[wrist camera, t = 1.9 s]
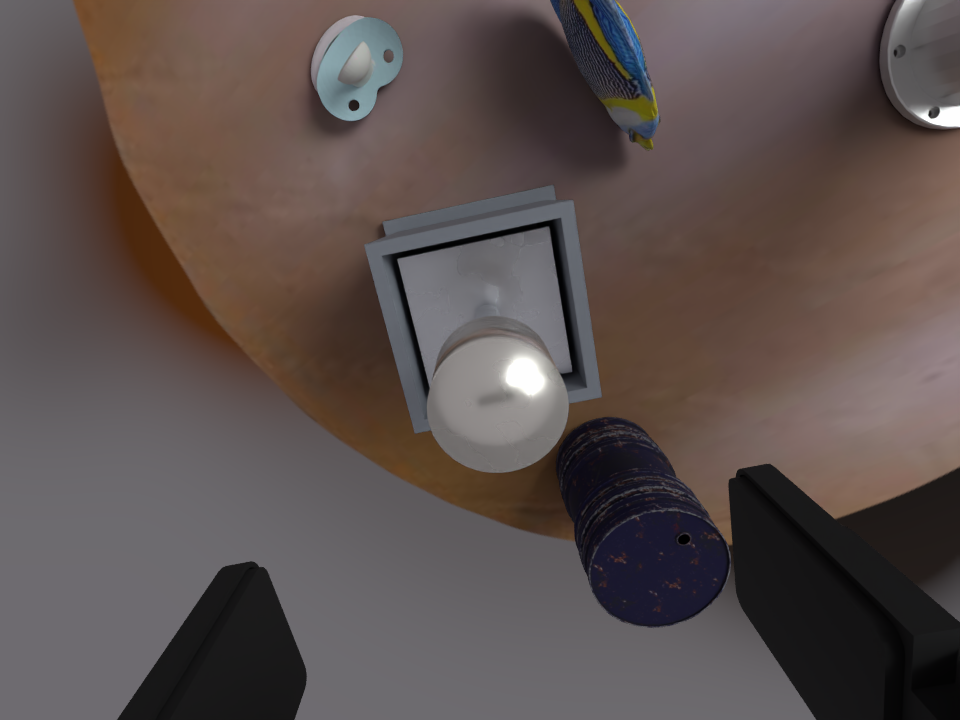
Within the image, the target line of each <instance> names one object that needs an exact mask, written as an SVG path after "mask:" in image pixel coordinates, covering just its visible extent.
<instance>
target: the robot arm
mask: <svg viewBox="0 0 960 720" xmlns="http://www.w3.org/2000/svg"><path fill="white" fill-rule="evenodd" d="M879 63H880V72H881V79H882V82H883V85H884V88H885V92H886V94H887V96H888V97H889V99H890V101H891V103H892V104H893V106H894V107H895V108H896V109H897V110H898V111H899V112H900V113H901V114H902V115H903V116H904V117H905V118H907V119H908V120H910V121H912V122H913V123H915V124H917V125H920V126H923V127H926V128H931V129H942V130H945V129H954V128H960V0H896V2H895V3H894V5H893V7H892V9H891V11H890V14H889V16H888V19H887V21H886V24H885V27H884V31H883V36H882V40H881V45H880V60H879ZM729 500H730V514H731V528H732V542H733V556H734V570H735V585H736V593H737V597H738V600H739V603H740V605H741V607H742V609H743V611H744V612H745V614H746V615H747V617H748V618H749V620H750V621H751V623H752V624H753V625H754V627H755V629H756V630H757V632H758V633H759V635H760V636H761V638H762V639H763V641H764V642H765V644H766V645H767V647H768V648H769V650H770V651H771V653H772V654H773V655H774V657H775V658H776V660H777V661H778V663H779V664H780V666H781V667H782V669H783V670H784V672H785V673H786V675H787V676H788V678H789V679H790V681H791V682H792V684H793V685H794V686H795V688H796V690H797V691H798V693H799V694H800V696H801V697H802V699H803V700H804V702H805V703H806V705H807V706H808V708H809V709H810V711H811V712H812V714H813V715H814V717H815V718H816V720H960V622H959V621H958V620H956V619H955V618H954V617H953V616H952V615H951V614H949V613H948V612H947V611H946V610H945V609H944V608H942V607H941V606H940V605H939V604H938V603H937V602H935V601H934V600H933V599H932V598H931V597H929V596H928V595H927V594H926V593H925V592H924V591H923V590H921V589H920V588H919V587H918V586H917V585H915V584H914V583H913V582H912V581H911V580H909V579H908V578H907V577H906V576H905V575H904V574H903V573H901V572H900V571H899V570H898V569H897V568H896V567H895V566H893V565H892V564H891V563H890V562H889V561H888V560H886V559H885V558H884V557H883V556H882V555H881V554H879V553H878V552H877V551H876V550H875V549H873V548H872V547H871V546H870V545H869V544H868V543H867V542H865V541H864V540H863V539H862V538H861V537H860V536H858V535H857V534H856V533H855V532H854V531H852V530H851V529H849V528H848V527H846V526H842V525H841V524H840V523H839V522H837V521H836V520H835V519H834V518H833V517H832V516H830V515H829V514H828V513H827V512H826V511H825V510H824V509H822V508H821V507H820V506H819V505H818V504H817V503H815V502H814V501H813V500H812V499H811V498H810V497H809V496H807V495H806V494H805V493H804V492H803V491H802V490H800V489H799V488H798V487H797V486H796V485H795V484H794V483H792V482H791V481H790V480H789V479H788V478H787V477H785V476H784V475H783V474H782V473H781V472H780V471H779V470H777V469H776V468H775V467H774V466H772V465H771V464H764V465H758V466H753V467H748V468H742V469H739V470H738V471H737V473H736V478H731V479H730V480H729ZM306 677H307V676H306V668H305V665H304V662H303V660H302V657H301V655H300V652H299V650H298V647H297V645H296V642H295V640H294V637H293V635H292V632H291V630H290V627H289V625H288V622H287V620H286V617H285V614H284V612H283V609H282V607H281V604H280V602H279V600H278V597H277V594H276V592H275V589H274V587H273V585H272V582H271V579H270V577H269V574H268V572H267V570H266V569H265V568H264V567H259V566H258V565H257V564H256V563H255V562H246V563H240V564H235V565H229V566H225V567H223V568H222V569H221V570H220V571H219V572H218V573H217V575H216V576H215V578H214V579H213V581H212V582H211V584H210V585H209V586H208V588H207V590H206V591H205V592H204V594H203V595H202V597H201V598H200V600H199V601H198V603H197V604H196V606H195V607H194V608H193V610H192V611H191V613H190V614H189V616H188V617H187V619H186V620H185V621H184V623H183V625H182V626H181V627H180V629H179V630H178V632H177V633H176V635H175V636H174V638H173V639H172V641H171V642H170V643H169V645H168V646H167V648H166V649H165V651H164V652H163V654H162V655H161V657H160V658H159V659H158V661H157V663H156V664H155V665H154V667H153V668H152V670H151V671H150V673H149V674H148V675H147V677H146V678H145V680H144V681H143V683H142V684H141V686H140V687H139V689H138V690H137V692H136V693H135V694H134V696H133V698H132V699H131V700H130V702H129V703H128V705H127V706H126V708H125V709H124V710H123V712H122V713H121V715H120V716H119V718H118V719H117V720H294V719H295V716H296V713H297V710H298V708H299V705H300V702H301V698H302V696H303V693H304V690H305V686H306Z"/></svg>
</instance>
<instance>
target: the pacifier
mask: <svg viewBox="0 0 960 720" xmlns="http://www.w3.org/2000/svg"><path fill="white" fill-rule="evenodd" d="M387 50H391V51H392V52H393V53H394V59H393V61H392V62H390V63H387V62H385V61H384V57H383V56H384V53H385V51H387ZM402 61H403V50H402V45H401V42H400V39H399V37H398V35H397V33H396V32H395V30H394V29H393V28H392V27H391V26H390V25H389V24H388V23H386V22H384V21H383V20H380V19H377V18H365V17H363V16H357V15H354V16H348V17H345V18H343V19H341V20H339V21H337V22H336V23H335V24H333V25H332V26H331V27H330V28H329V29H328V30H327V31H326V32H325V34H324V35H323V36H322V37H321V39H320V41H319V43H318V45H317V47H316V49H315V52H314V55H313V58H312V64H311V78H312V82H313V85H314V88H315V90H316V91H317V92H318V94H319V96H320V99H321V101H322V103H323V105H324V106H325V108H326V109H327V110H328V111H329V112H330V113H331V114H332V115H334V116H336V117H337V118H339V119H342V120H345V121H357V120H360V119H362V118H364V117H366V116H367V115H368V114H369V113H370V112H371V110H372V109H373V107H374V105H375V102H376V98H377V91H378V89H379V88H380V87H381V86H384V85H387V84H388V83H390V82H391V81H392V80H393V79H394V78H395V77H396V76H397V74H398V73H399V71H400V68H401V65H402ZM352 100H357V101H358V102H359V105H360V106H359V109H358V110H356V111H351V110H350V109H349V103H350V102H351V101H352Z"/></svg>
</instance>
